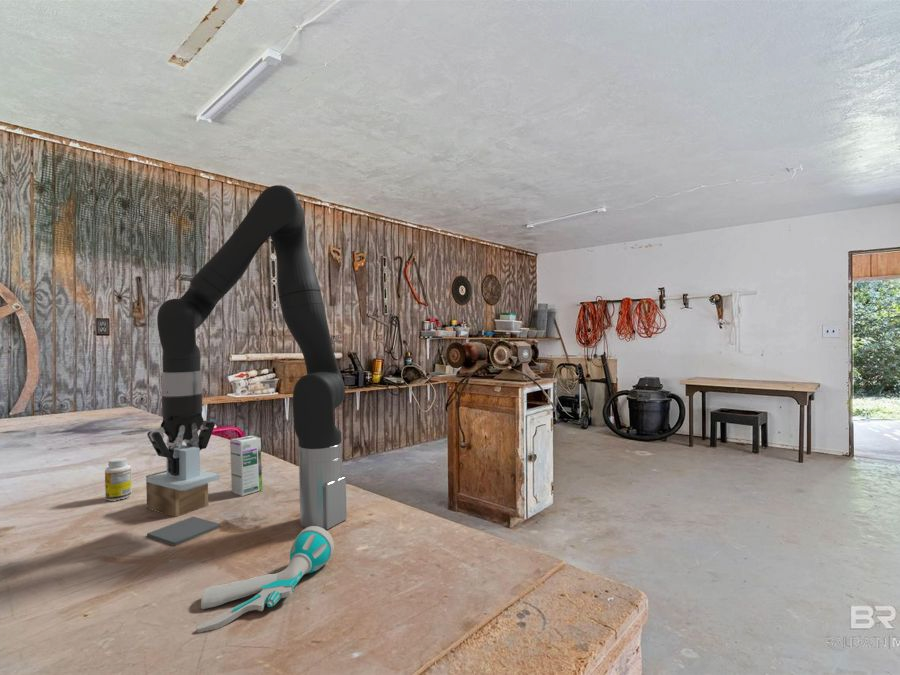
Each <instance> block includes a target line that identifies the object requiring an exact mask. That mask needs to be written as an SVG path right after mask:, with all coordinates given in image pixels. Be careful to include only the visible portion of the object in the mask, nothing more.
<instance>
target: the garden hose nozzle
mask: <svg viewBox="0 0 900 675" xmlns="http://www.w3.org/2000/svg"><path fill="white" fill-rule="evenodd" d="M334 552H335V541H334V539H333V537H332V535H331V534H330V532H328V530H327V529H324V528H321V527H318V526H310V527H307V528H305V527H304V529H301V532H299V534H298V535H297V536H296V537H295V539H294V541H293V543H292V546H291V548H290V551H289V563H288V565H287V566H286V568H284V569H283V570H281V571H279V572H277V573H272V574H271V573H270V574H269V573H268V574H263V575H259V576H255V577H251V578H248V579H244V580H239V581H238V580H236V581H231V582H229V583H225V584H217V585H212V586H210V587H205V588H204V589H203V591H202V595H201V599H200V608H201V609H202V610H206V609H212V608H215V607H218V606H221V605H224V604H226V603H228V602H230V603H231V602H232V601H235V600H236V601H237V600H240V599H242V598H246V597H249V596H251V595H254V596H253V597H251V598H250V599H248V600H245V601H244V602H241V603H240V604H238V605H236V606H234V607H232V608H230V609H228V610H226V611H225V612H222V613H221V614H219V615H217V616H215V617H213V618H210V619H208V620H206V621H205V622H203V623H201V624H199V625H197V626H196V632H200V633H204V631H205V632H209V630H210V631H215V630H218V629H220V628H222V627H225V626H226V625H228V624H229V623H231V622H232V621H235V620H236V619H237V618H239V617H240V616H242V615H243V614H246V613H247V612H250V611H259V612H263V611H264V609H265V606H267V607H268V608H272V607H275V605H276V604H278V603H279V601H280V600H281V599H284V598H288V597H290V596H291V595H292V594H293V592H295V591H294V590H295V589H294V588H295V586H297V584H298V583H299V581H300V580H301V578H302V577H303V576H304V575H307V574H312V573H315V572H317V571H318V570H320V569H321V568H322V567H323V566H324V565H326V564H327V563H328V562H329V561H330V559H331V557H332V556H333V554H334Z"/></svg>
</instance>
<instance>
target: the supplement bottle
mask: <svg viewBox="0 0 900 675" xmlns="http://www.w3.org/2000/svg"><path fill="white" fill-rule="evenodd" d="M104 479H105V480H104V482H105V483H104V486H105V489H104V490H105V500H106V501H108V500H109V501H108V502H115V501H114V500H118V501H121V500H120V499H123V500H126V499H128V498H130V497H131V496H132V494H133V493H132V489H133V488H132V466H131V465H130V464H128V458H127V457H116V458H111V459H109V460H108V467H106V468H105V469H104ZM125 498H126V499H125Z"/></svg>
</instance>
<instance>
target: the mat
mask: <svg viewBox="0 0 900 675" xmlns="http://www.w3.org/2000/svg"><path fill="white" fill-rule="evenodd" d="M221 527H222V524H221V523H219V522H216V521H215V522H214V521H211V520H208V519H204V518H201V517H197V516H191V517H188V518H187V517H186V518H185V519H183V520H179V521H177V522H175V523H171V524H168V525H166V526H164V527H160V528H157V529H155V530H152V531H150V532H146V537H148V538H150V539H153V540H157V541H160V542H163V543H166V544H169V545H171V546H178V545H181V544H183V543H185V542H187V541H190V540H193V539H195V538H197V537H200V536H203V535H205V534H208V533H210V532H212V531H214V530H217V529H219V528H221Z"/></svg>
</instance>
